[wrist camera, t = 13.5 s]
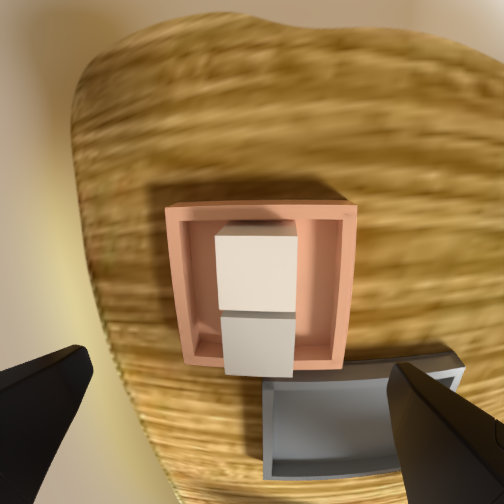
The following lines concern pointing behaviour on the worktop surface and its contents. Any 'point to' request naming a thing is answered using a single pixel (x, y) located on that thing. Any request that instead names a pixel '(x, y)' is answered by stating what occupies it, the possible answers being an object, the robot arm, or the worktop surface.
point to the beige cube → (257, 266)
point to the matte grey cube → (258, 343)
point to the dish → (308, 274)
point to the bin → (338, 418)
